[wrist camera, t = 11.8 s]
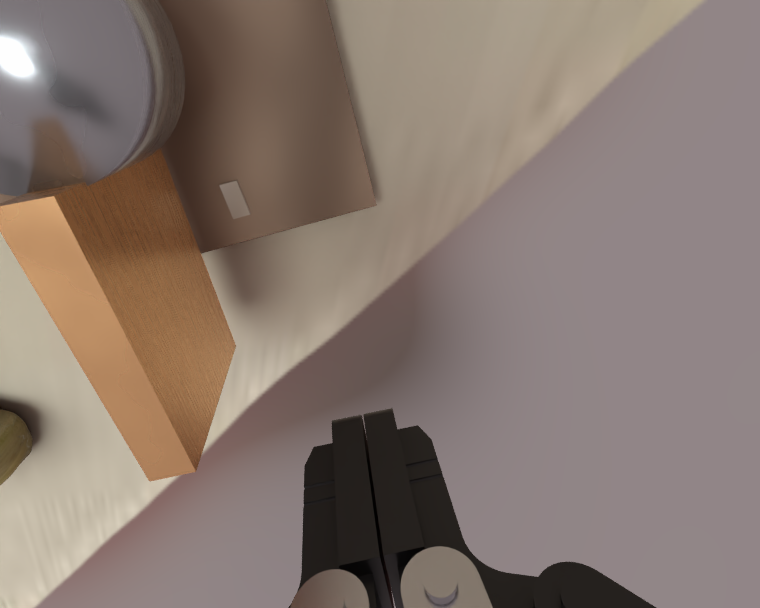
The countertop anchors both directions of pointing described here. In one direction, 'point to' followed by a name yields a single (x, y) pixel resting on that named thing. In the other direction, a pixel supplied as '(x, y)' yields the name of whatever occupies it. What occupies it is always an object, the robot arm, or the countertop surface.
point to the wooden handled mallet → (111, 215)
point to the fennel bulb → (12, 443)
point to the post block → (261, 120)
